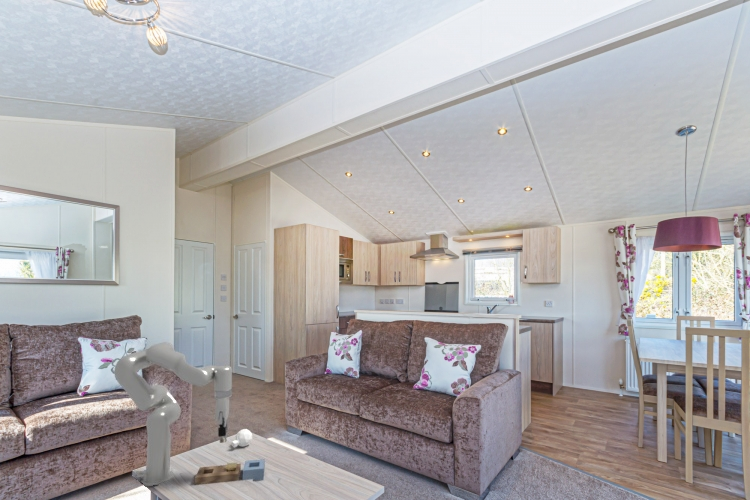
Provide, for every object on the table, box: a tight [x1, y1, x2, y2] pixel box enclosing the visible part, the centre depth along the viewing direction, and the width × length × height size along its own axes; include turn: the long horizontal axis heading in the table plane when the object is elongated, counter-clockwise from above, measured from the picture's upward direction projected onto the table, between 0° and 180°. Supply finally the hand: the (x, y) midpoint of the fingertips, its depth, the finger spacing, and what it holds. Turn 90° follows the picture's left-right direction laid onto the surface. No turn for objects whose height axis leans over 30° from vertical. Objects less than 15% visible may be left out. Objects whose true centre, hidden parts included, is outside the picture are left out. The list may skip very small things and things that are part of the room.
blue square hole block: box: [242, 458, 266, 482], centre depth 180 cm, size 9×10×5 cm
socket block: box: [194, 463, 242, 486], centre depth 177 cm, size 18×10×4 cm, turn 103°
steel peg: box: [219, 419, 228, 444], centre depth 179 cm, size 3×3×10 cm
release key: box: [225, 462, 238, 472], centre depth 178 cm, size 4×4×5 cm
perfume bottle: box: [231, 428, 253, 448], centre depth 213 cm, size 9×9×12 cm
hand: (222, 434), depth 178 cm, fingers closed on steel peg, 3 cm apart
